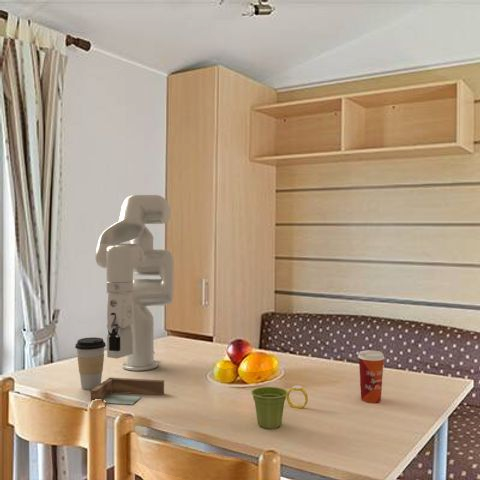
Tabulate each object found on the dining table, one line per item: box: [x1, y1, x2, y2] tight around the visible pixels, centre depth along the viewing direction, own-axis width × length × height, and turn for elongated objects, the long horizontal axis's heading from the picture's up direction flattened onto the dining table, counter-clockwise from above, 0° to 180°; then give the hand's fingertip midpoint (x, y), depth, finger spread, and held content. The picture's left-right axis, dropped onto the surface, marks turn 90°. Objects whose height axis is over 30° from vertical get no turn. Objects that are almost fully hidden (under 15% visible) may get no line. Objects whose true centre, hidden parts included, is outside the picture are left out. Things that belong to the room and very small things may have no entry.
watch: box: [285, 385, 309, 410], centre depth 159 cm, size 6×3×6 cm, turn 66°
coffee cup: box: [74, 336, 107, 391], centre depth 179 cm, size 9×9×15 cm
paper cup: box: [357, 349, 385, 404], centre depth 165 cm, size 8×8×14 cm
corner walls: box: [90, 377, 165, 406], centre depth 167 cm, size 14×18×4 cm
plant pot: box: [251, 386, 288, 430], centre depth 146 cm, size 9×9×9 cm
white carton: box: [106, 325, 133, 360], centre depth 165 cm, size 4×7×10 cm, turn 150°
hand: (120, 347), depth 165 cm, fingers closed on white carton, 7 cm apart
